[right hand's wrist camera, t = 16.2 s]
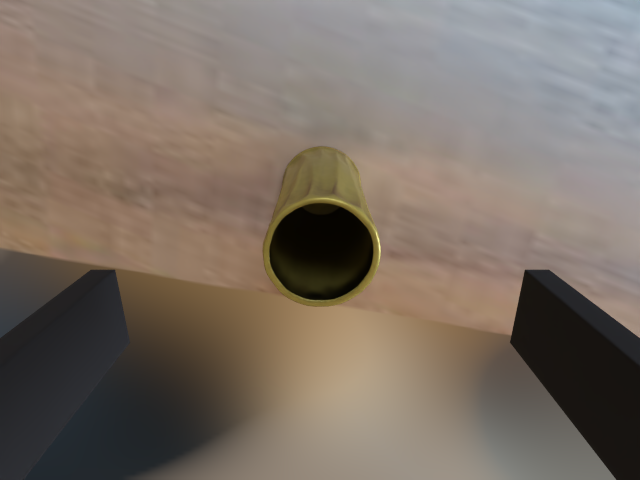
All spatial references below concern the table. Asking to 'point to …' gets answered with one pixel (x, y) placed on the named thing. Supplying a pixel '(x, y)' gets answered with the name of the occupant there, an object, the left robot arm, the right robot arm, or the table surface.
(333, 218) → the gold fluted cup
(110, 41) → the table surface
